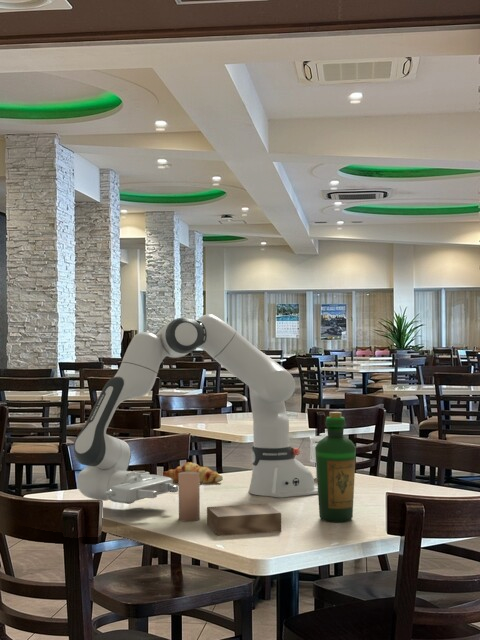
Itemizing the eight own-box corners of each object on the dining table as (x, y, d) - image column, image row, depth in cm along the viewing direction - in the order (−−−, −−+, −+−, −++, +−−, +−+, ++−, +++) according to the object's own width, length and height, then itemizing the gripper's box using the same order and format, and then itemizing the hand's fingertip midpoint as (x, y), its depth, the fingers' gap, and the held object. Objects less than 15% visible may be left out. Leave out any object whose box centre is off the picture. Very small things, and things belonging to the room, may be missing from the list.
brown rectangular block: (267, 521, 211) (266, 503, 211) (281, 531, 200) (281, 512, 200) (207, 524, 207) (207, 507, 207) (218, 535, 195) (217, 516, 195)
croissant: (225, 492, 270) (228, 469, 274) (217, 482, 262) (221, 459, 266) (165, 488, 276) (169, 465, 280) (156, 478, 268) (160, 455, 271)
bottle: (346, 525, 206) (345, 414, 206) (308, 520, 211) (307, 413, 212) (363, 517, 215) (362, 411, 215) (326, 513, 220) (325, 410, 221)
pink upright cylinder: (197, 516, 217) (197, 471, 218) (201, 520, 212) (201, 474, 212) (177, 517, 216) (176, 472, 216) (181, 521, 211) (180, 475, 211)
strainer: (334, 477, 279) (333, 433, 279) (325, 480, 273) (324, 435, 273) (315, 475, 282) (315, 432, 283) (306, 478, 276) (306, 434, 277)
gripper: (100, 481, 217) (141, 486, 210) (148, 470, 234) (187, 474, 227) (101, 505, 217) (141, 510, 209) (149, 492, 234) (188, 497, 227)
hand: (166, 491), depth 218 cm, fingers open, 8 cm apart
